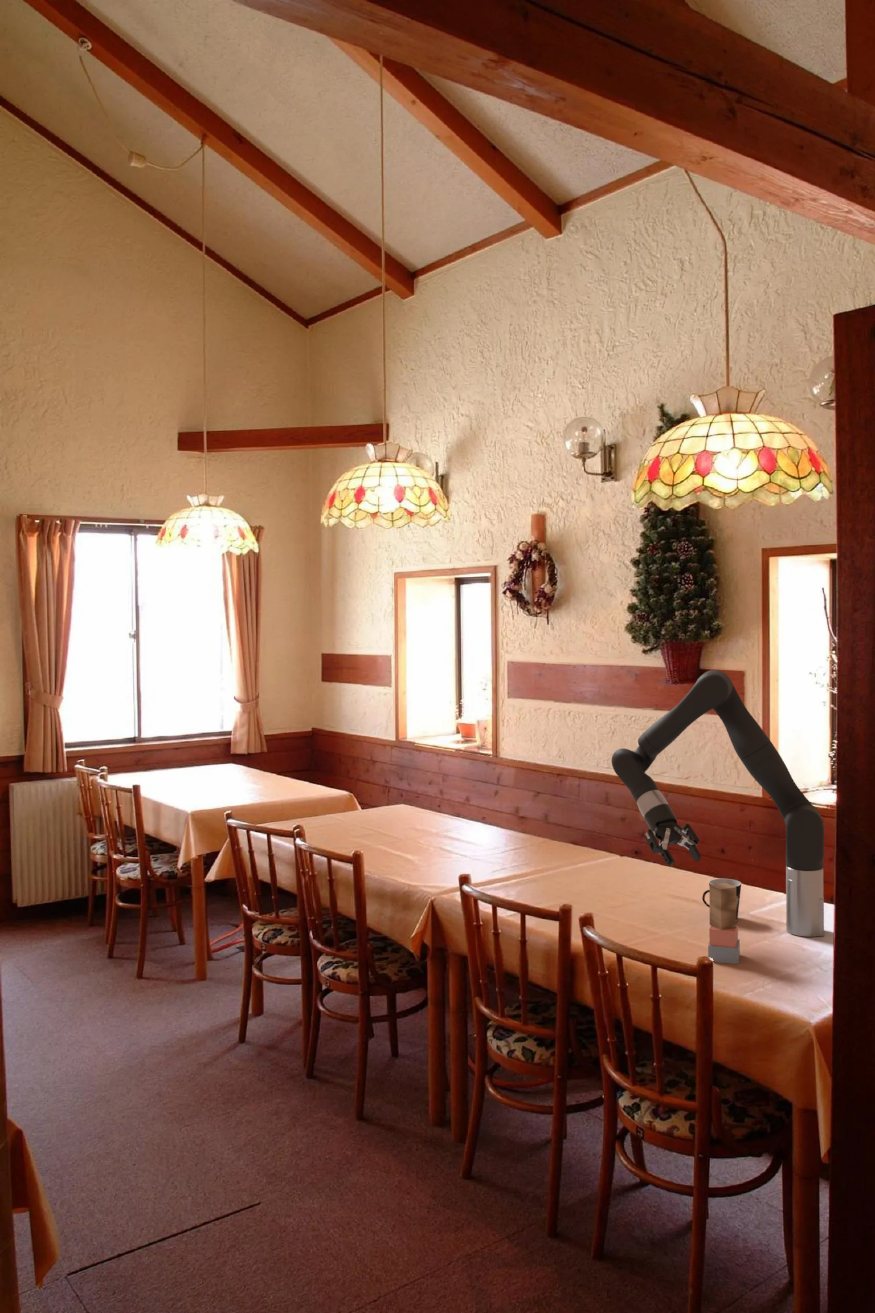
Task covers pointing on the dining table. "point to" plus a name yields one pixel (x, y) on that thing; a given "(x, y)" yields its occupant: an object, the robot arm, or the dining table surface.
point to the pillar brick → (722, 906)
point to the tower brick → (723, 937)
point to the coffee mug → (730, 882)
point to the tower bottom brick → (724, 953)
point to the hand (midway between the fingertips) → (685, 862)
